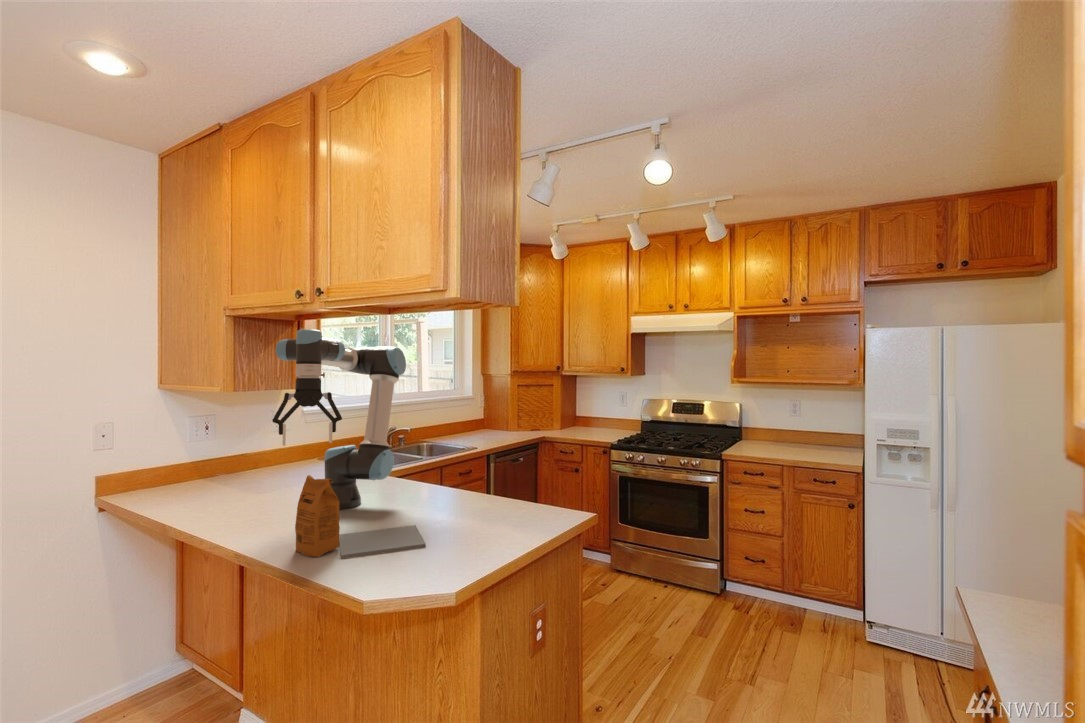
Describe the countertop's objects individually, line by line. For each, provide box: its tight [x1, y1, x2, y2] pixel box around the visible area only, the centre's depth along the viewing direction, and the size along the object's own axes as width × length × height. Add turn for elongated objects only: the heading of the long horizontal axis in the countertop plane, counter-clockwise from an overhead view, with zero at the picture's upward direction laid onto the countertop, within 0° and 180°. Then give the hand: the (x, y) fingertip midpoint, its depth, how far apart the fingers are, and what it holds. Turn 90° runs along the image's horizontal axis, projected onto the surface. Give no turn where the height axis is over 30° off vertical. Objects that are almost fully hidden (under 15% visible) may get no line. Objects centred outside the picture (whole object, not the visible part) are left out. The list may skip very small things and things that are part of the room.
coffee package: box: [294, 474, 341, 558], centre depth 154 cm, size 10×12×22 cm
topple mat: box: [339, 524, 427, 559], centre depth 161 cm, size 20×24×1 cm
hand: (307, 444), depth 165 cm, fingers open, 13 cm apart
